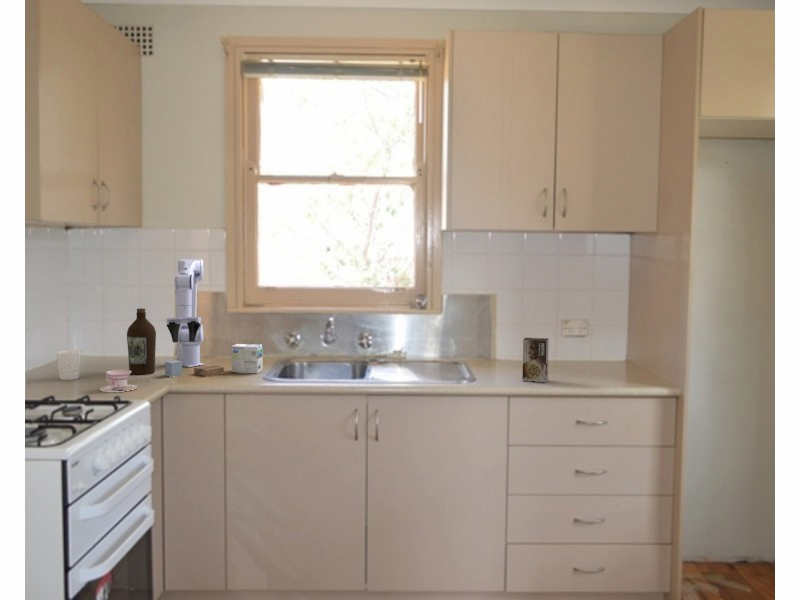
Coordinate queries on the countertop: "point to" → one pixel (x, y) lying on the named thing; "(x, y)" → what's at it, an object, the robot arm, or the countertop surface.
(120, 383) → the teacup
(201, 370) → the walnut block
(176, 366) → the blue grey block
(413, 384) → the countertop surface
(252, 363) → the light bulb box
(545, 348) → the coffee box
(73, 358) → the white cup
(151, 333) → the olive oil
